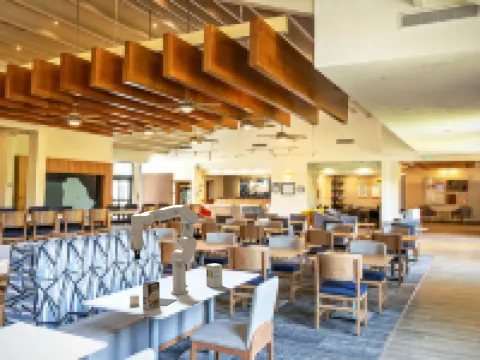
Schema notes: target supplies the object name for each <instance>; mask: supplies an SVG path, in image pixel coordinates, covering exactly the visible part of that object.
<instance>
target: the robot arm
mask: <svg viewBox="0 0 480 360" xmlns="http://www.w3.org/2000/svg"><path fill="white" fill-rule="evenodd" d="M130 217H131V218H130V219H131V221H130V222H131V223H130V224H131V225H130V227H131V228H130V229H131V230H130V231H131V233H130V234H131V235H130V240H129V250H131V252H133V253H134V260H136V261H137V260H141V252H142V250H143V248H144V235H143V227H144V226H143V225H147V226H148V225H149V226H150V225H151V224H153V223H154V222H157V221H158V222H159V221H160V222H161V221H166V220H170V219H174V218H178V217H180V221H181V224H182V227H183V228H182V231H181V234H180V236H179V239H178V243H177V246H178V247H179V249H175V250H173V251H172V253H171V255H170V261H171V266H172V290H170V294H171V295H176V296H177V295H186V294H188V293H189V290H188V289H187V288H188V287H189V286H188V284H187V282H186V281H187V280H186V275H187V273H186V271H187V270H186V265H187V264H190V263H191V261H192V259H193V256H194V254H195V252H196V249H197V245H198V242H197V239H196V238H195V237H194V236H193V235H194V233H195V227H194V225H196V224H198V222H200V221H199V220H200V218H199V215H198V214H197V212H195V211H194V210H192V209H191V208H189V207H188V206H186V205H183V204H181V205H180V204H176V205H171V206H167V207H163V208H159V209H155V210H151V211H146V212H143V213H140V214H132V215H131V216H130Z"/></svg>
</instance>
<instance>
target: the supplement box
mask: <svg viewBox="0 0 480 360" xmlns="http://www.w3.org/2000/svg"><path fill="white" fill-rule="evenodd" d="M205 265H206V267H205V269H206V270H205V271H206V274H205V276H206V286H207V287H210V288H218V287H223V264H220V263H215V262H214V263H208V264H205Z"/></svg>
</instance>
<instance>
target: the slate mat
mask: <svg viewBox="0 0 480 360" xmlns="http://www.w3.org/2000/svg"><path fill="white" fill-rule="evenodd" d="M176 301H178V299H177V298H176V299H174V298H160V306H162V307H167V306H169V305H171V304H172V303H174V302H176Z"/></svg>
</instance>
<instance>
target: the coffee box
mask: <svg viewBox="0 0 480 360" xmlns="http://www.w3.org/2000/svg"><path fill="white" fill-rule="evenodd" d="M160 287H161V286H160V281H157V280H156V281H155V280H153V281H148V282H142V309H145V310H153V309H155V308H159V307H160V297H161V296H160V294H161V293H160V291H161V290H160Z"/></svg>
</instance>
